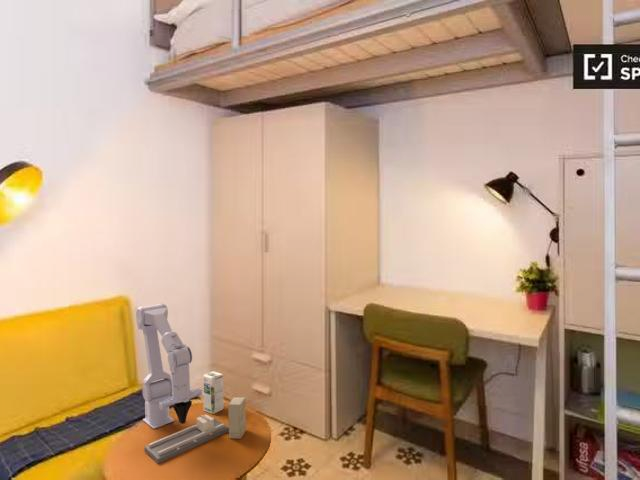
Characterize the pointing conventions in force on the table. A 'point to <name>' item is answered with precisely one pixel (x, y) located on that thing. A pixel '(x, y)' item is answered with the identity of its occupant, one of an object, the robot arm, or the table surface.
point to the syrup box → (213, 392)
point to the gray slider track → (183, 441)
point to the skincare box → (237, 417)
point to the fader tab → (204, 422)
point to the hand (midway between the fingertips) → (182, 422)
